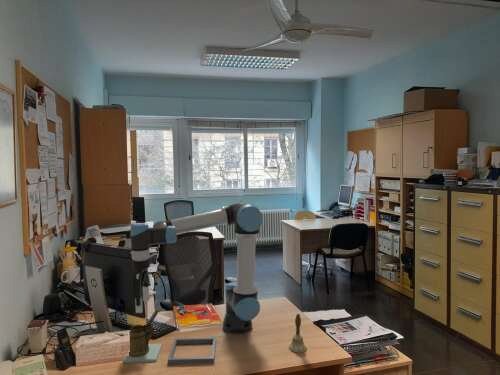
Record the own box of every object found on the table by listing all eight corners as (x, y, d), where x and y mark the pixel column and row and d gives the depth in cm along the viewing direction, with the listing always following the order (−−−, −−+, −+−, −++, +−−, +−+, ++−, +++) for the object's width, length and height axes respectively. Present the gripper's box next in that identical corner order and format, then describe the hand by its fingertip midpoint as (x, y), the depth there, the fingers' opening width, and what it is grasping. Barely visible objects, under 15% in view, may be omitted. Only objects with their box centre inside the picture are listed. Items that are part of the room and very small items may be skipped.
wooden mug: (159, 354, 170) (158, 314, 169) (126, 358, 167) (125, 317, 166) (159, 345, 179) (158, 306, 177) (128, 348, 176) (127, 309, 175)
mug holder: (216, 341, 184) (215, 337, 184) (214, 362, 165) (213, 358, 164) (174, 342, 183) (174, 338, 183) (167, 364, 164) (167, 359, 164)
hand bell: (308, 345, 179) (308, 311, 178) (304, 354, 172) (305, 318, 170) (290, 343, 182) (290, 309, 181) (286, 351, 174) (286, 316, 173)
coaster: (162, 345, 180) (162, 343, 180) (156, 361, 166) (156, 359, 166) (131, 346, 180) (131, 344, 179) (123, 362, 166) (122, 360, 166)
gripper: (138, 252, 182) (141, 296, 184) (124, 267, 157) (126, 318, 159) (155, 251, 182) (157, 296, 184) (142, 266, 158) (145, 317, 159)
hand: (142, 306), depth 171 cm, fingers open, 13 cm apart
